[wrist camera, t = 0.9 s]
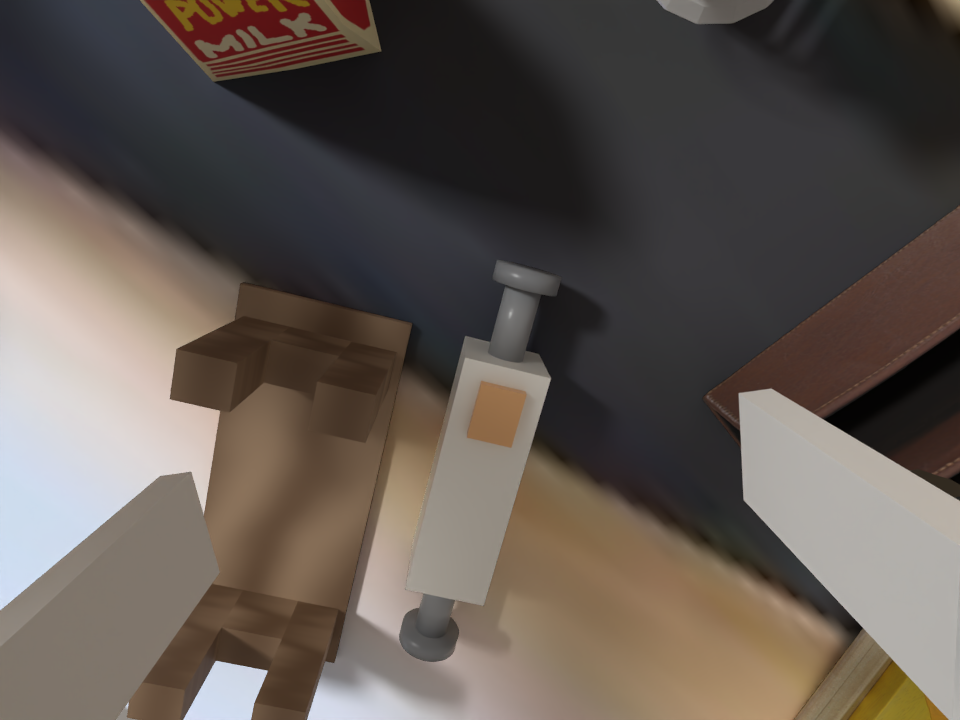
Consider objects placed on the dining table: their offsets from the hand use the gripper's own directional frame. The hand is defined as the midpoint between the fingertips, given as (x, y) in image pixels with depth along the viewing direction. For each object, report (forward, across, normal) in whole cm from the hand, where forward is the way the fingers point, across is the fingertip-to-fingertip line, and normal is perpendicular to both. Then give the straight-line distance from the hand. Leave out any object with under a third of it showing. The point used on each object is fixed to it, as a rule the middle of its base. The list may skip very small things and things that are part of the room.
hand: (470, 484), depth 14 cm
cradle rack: (+22, -13, -9) cm, 27 cm away
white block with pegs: (+22, -1, -8) cm, 24 cm away
